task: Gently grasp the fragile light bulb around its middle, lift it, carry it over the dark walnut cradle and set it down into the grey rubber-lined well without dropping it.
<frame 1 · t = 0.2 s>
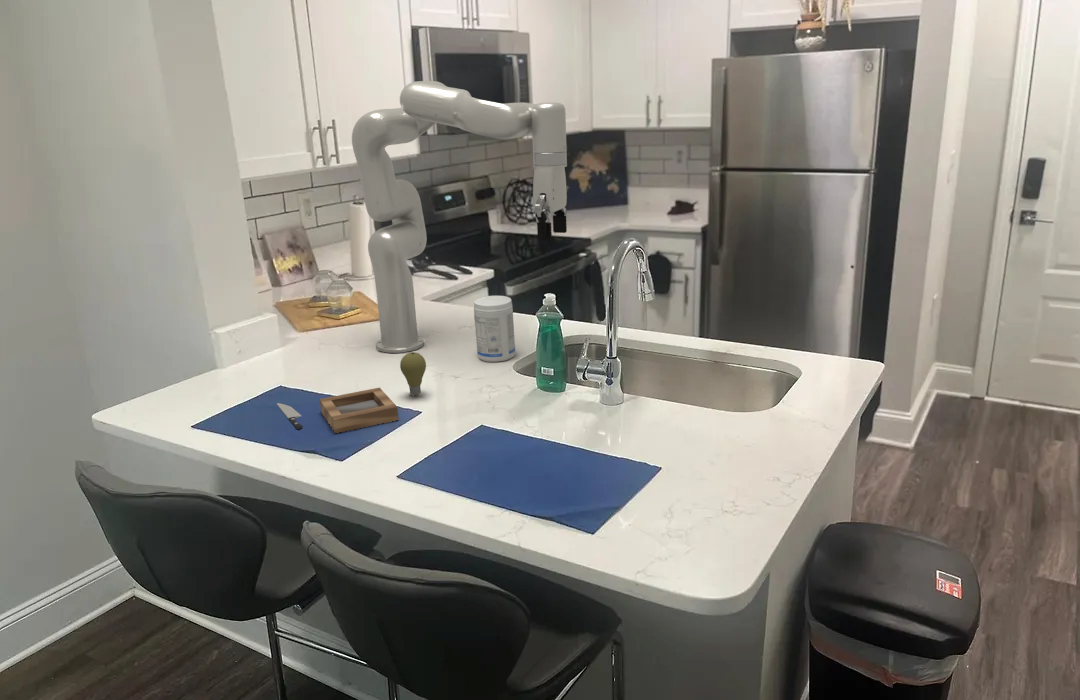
hand: (552, 236, 186), 31 cm above the counter, tool pointing down, fingers open, 9 cm apart
light bulb: (416, 396, 178), on the counter
chef's knife: (293, 416, 171), on the counter
supplement tub: (496, 357, 202), on the counter
cradle: (359, 416, 168), on the counter
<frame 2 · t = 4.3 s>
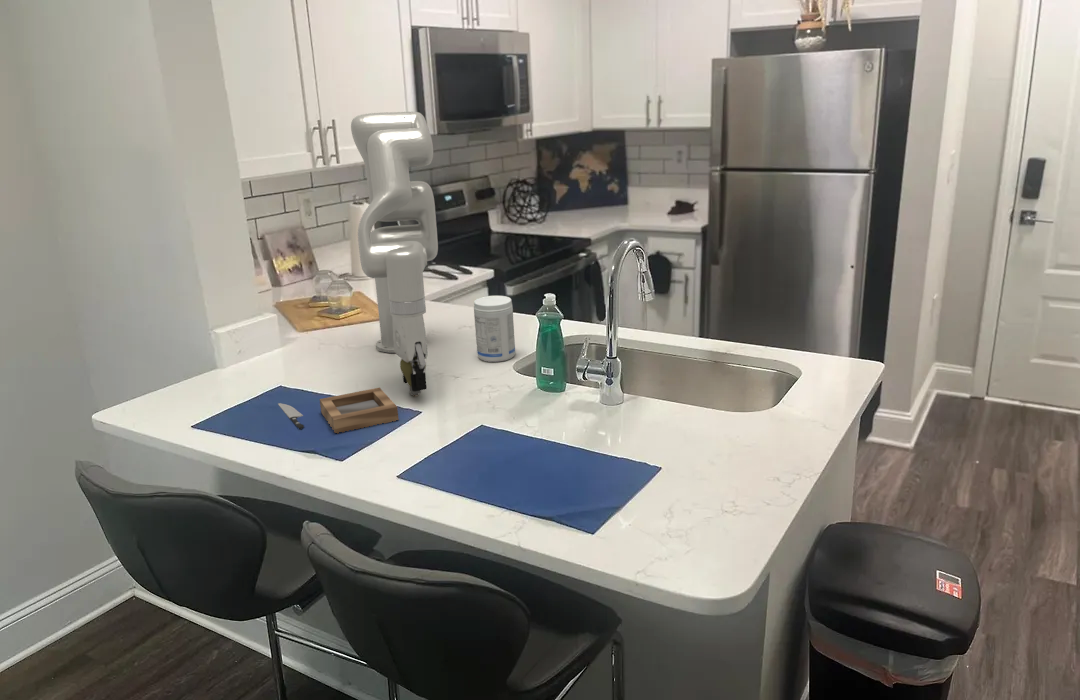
hand: (414, 385, 178), 2 cm above the counter, tool pointing down, fingers closed on light bulb, 5 cm apart
light bulb: (415, 396, 178), on the counter, touching gripper
everything else where it was.
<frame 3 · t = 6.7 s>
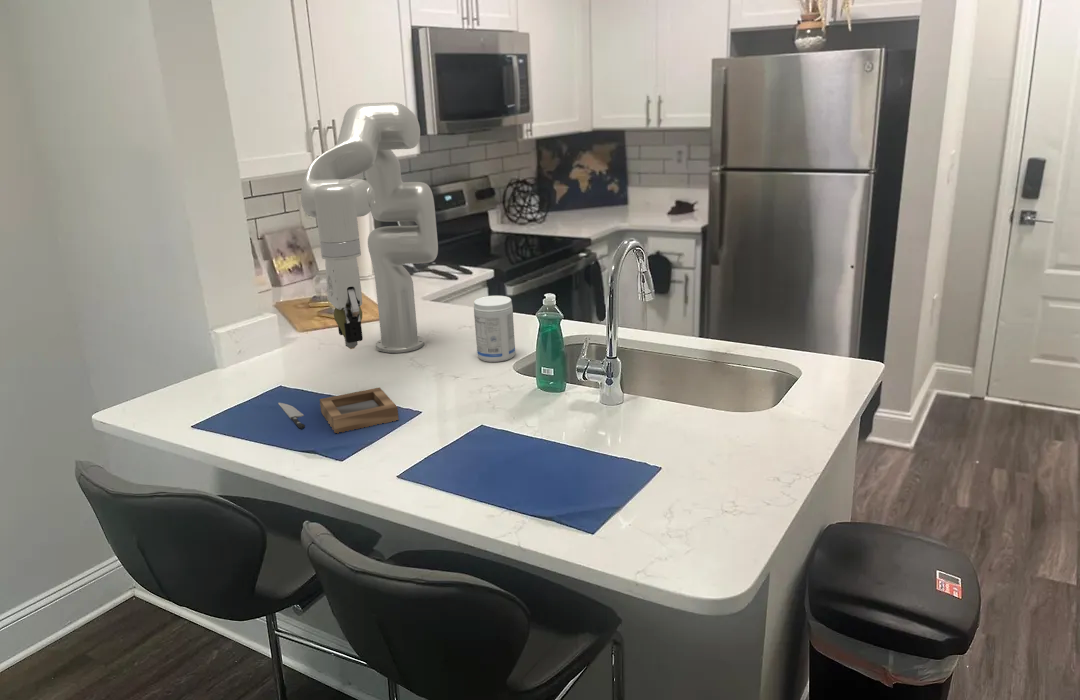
hand: (350, 336, 163), 17 cm above the counter, tool pointing down, fingers closed on light bulb, 5 cm apart
light bulb: (352, 349, 164), point 15 cm above the counter, touching gripper
everything else where it was.
when the fingers open (5 cm above the counter, at t = 9.4 s): light bulb moves 1 cm, resting on cradle.
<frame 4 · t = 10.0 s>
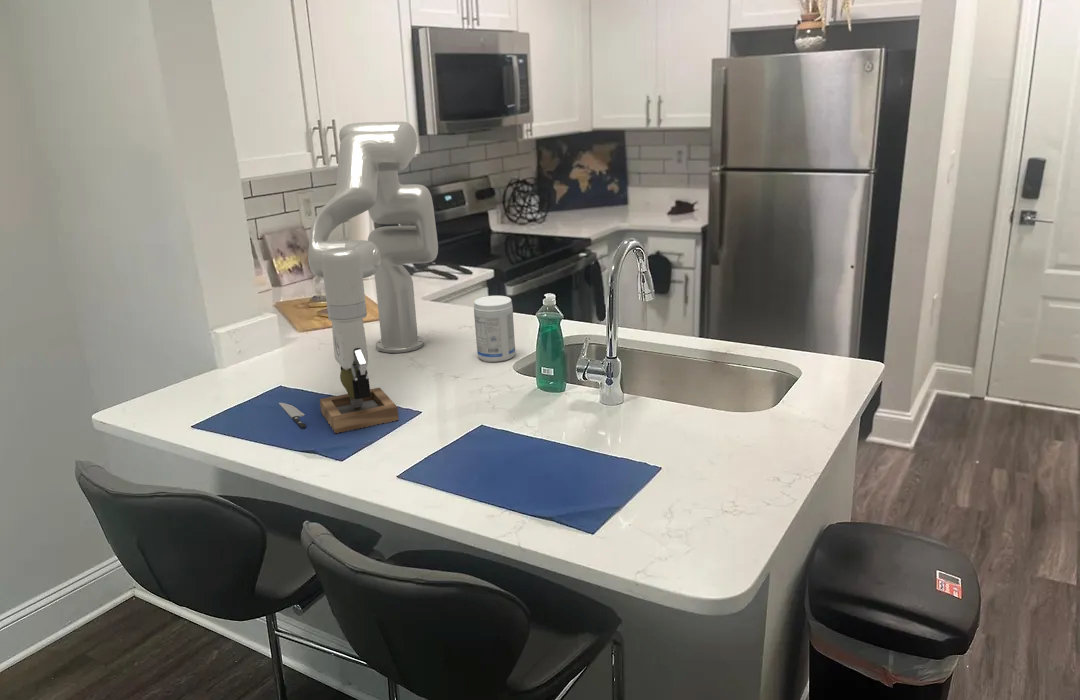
hand: (356, 390, 166), 6 cm above the counter, tool pointing down, fingers open, 9 cm apart
light bulb: (357, 409, 169), point 1 cm above the counter, touching cradle
everything else where it was.
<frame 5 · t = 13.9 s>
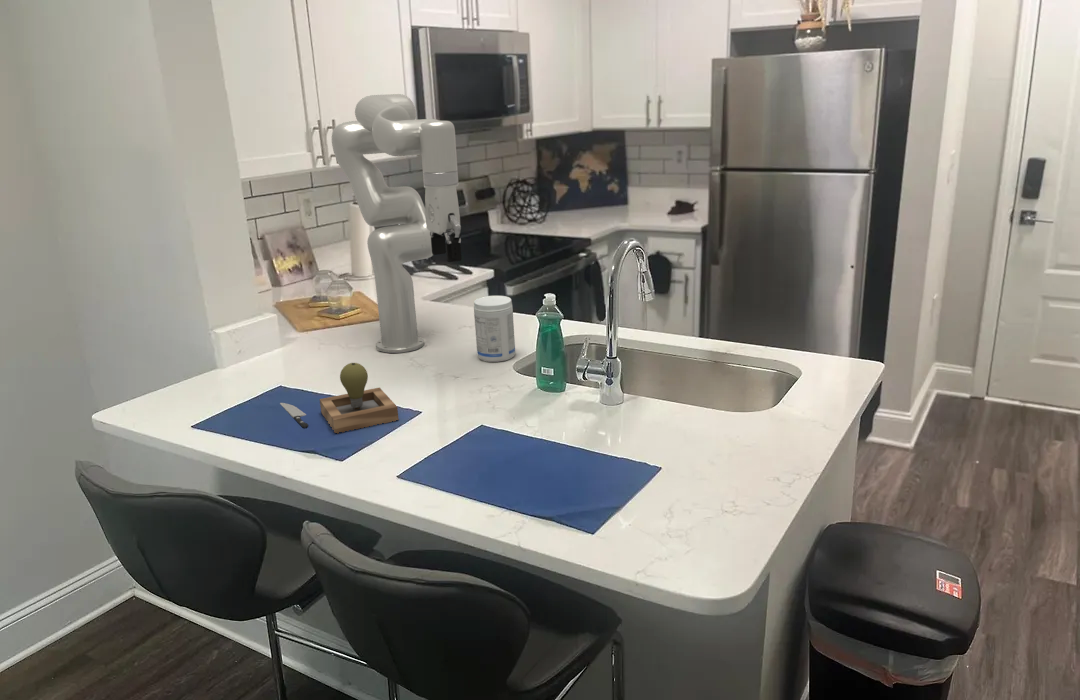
hand: (446, 257, 181), 28 cm above the counter, tool pointing down, fingers open, 9 cm apart
nothing on the counter moved.
at the end: light bulb inside the target area on the cradle (1.2 cm from its centre), point 1.1 cm above the cradle's base; light bulb tilted 0°; the gripper is holding nothing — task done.
